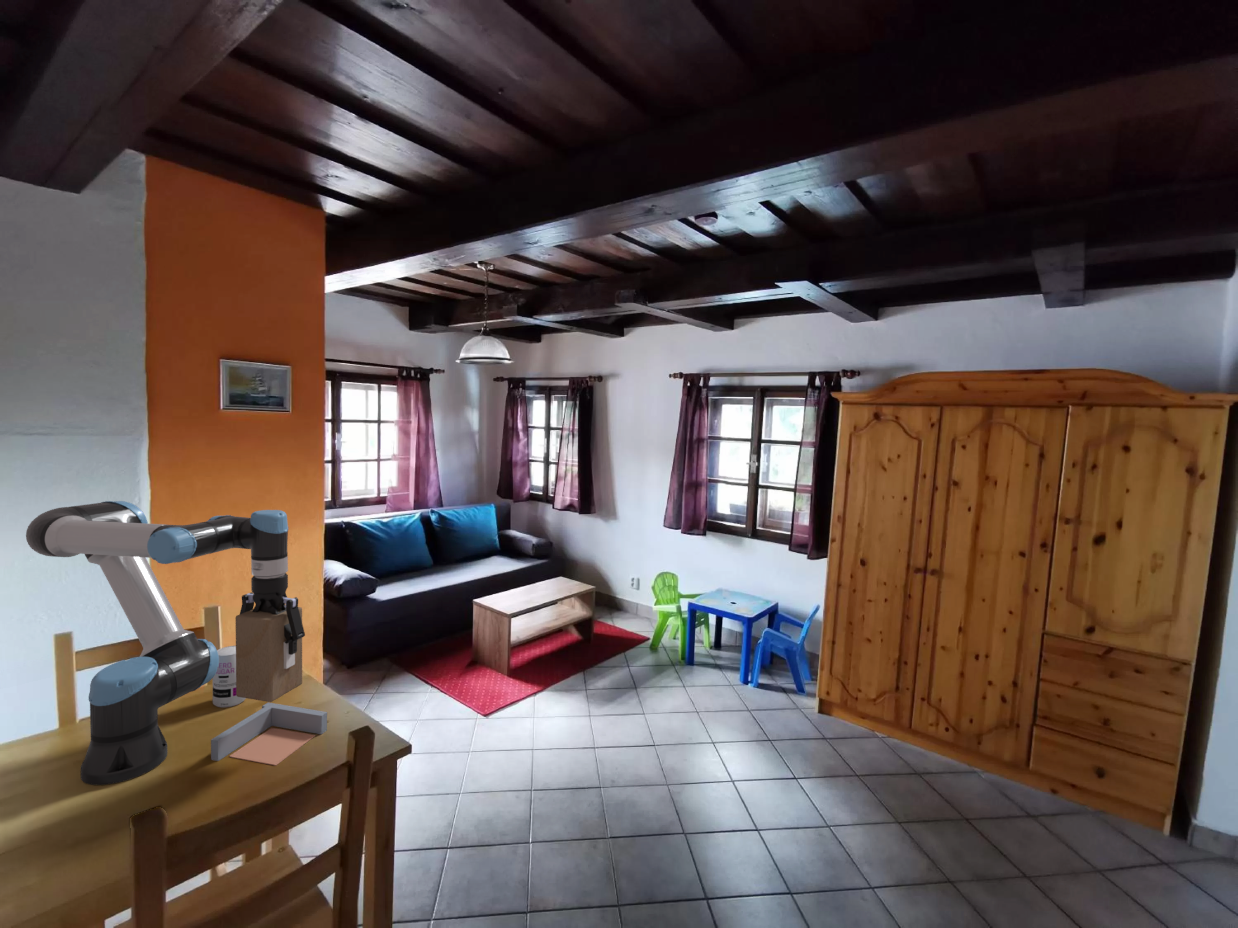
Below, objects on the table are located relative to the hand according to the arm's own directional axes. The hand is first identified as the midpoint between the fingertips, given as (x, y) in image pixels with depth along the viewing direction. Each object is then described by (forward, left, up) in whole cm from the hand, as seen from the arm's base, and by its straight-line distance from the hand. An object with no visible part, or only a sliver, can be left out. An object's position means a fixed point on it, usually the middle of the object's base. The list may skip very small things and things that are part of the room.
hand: (270, 663), depth 137 cm
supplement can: (-28, +16, -22) cm, 39 cm away
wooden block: (0, 0, -7) cm, 7 cm away
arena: (-2, +2, -22) cm, 22 cm away
